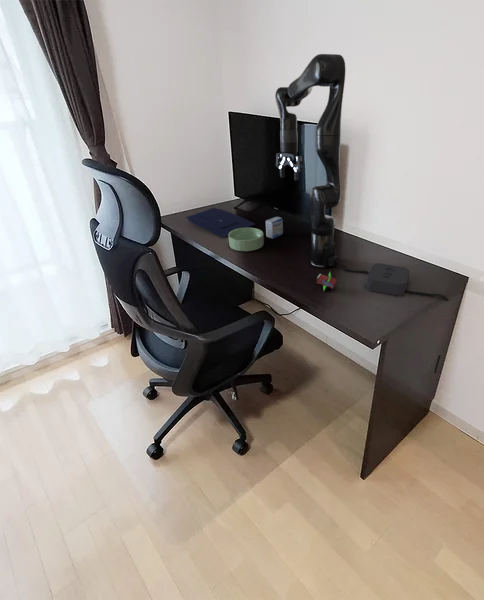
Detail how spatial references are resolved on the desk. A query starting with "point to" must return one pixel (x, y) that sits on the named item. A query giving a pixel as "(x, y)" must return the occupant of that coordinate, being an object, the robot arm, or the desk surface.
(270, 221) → the medicine box
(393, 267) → the streaming box
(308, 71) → the robot arm
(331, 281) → the geometric puzzle
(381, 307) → the desk surface
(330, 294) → the desk surface
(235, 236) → the bowl
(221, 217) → the folded navy cloth
